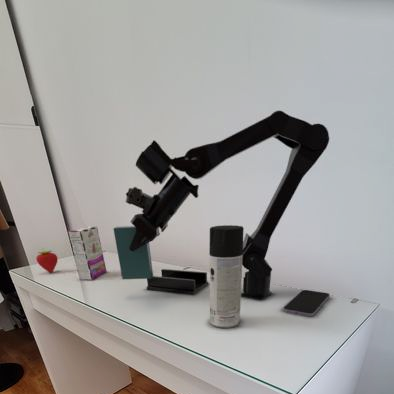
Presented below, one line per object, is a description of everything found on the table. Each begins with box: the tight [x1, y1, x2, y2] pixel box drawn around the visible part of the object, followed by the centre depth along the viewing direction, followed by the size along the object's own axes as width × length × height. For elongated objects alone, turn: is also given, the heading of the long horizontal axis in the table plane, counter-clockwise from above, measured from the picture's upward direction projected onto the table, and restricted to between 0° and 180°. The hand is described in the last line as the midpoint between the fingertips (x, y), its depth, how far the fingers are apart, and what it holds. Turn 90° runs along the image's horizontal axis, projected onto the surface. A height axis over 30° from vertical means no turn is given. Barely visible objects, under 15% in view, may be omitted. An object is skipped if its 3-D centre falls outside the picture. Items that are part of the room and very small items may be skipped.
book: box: [112, 225, 154, 280], centre depth 76 cm, size 3×8×13 cm, turn 87°
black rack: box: [146, 268, 209, 296], centre depth 88 cm, size 16×11×4 cm
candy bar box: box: [67, 225, 108, 281], centre depth 101 cm, size 11×5×16 cm, turn 168°
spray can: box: [208, 224, 245, 329], centre depth 59 cm, size 7×7×20 cm
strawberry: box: [36, 248, 58, 274], centre depth 110 cm, size 6×8×10 cm
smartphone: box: [282, 289, 331, 317], centre depth 72 cm, size 7×1×15 cm
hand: (132, 249), depth 75 cm, fingers closed on book, 3 cm apart
